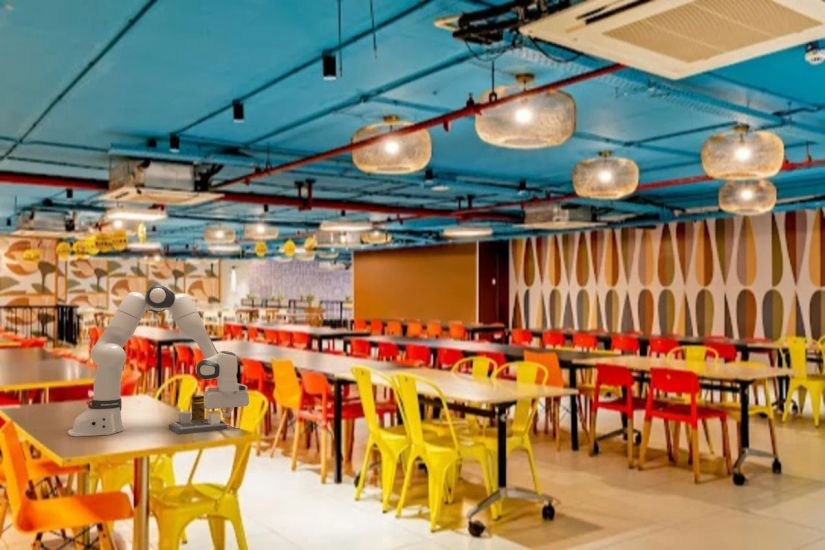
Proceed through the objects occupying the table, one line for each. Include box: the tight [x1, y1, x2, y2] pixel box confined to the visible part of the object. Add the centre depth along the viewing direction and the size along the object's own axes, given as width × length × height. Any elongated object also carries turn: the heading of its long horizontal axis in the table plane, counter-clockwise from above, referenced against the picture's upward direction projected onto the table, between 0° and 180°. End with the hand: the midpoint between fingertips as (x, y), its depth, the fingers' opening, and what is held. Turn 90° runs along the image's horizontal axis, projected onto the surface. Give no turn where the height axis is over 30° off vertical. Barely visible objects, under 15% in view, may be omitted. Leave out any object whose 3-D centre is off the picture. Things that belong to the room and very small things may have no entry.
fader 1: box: [178, 410, 192, 424], centre depth 333 cm, size 4×5×5 cm
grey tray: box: [168, 418, 228, 435], centre depth 332 cm, size 22×15×3 cm
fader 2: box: [207, 410, 221, 424], centre depth 333 cm, size 4×5×5 cm
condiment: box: [191, 394, 206, 420], centre depth 351 cm, size 7×8×12 cm
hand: (226, 417), depth 336 cm, fingers closed
